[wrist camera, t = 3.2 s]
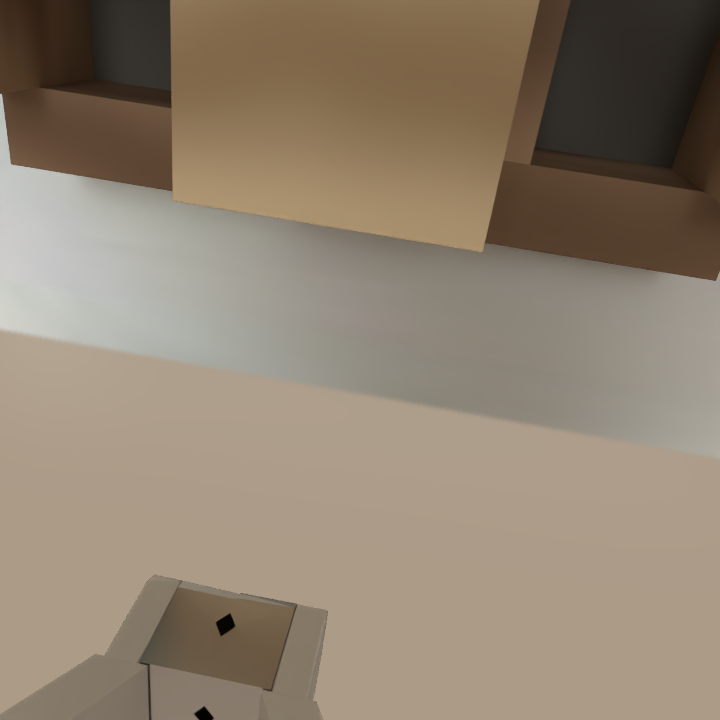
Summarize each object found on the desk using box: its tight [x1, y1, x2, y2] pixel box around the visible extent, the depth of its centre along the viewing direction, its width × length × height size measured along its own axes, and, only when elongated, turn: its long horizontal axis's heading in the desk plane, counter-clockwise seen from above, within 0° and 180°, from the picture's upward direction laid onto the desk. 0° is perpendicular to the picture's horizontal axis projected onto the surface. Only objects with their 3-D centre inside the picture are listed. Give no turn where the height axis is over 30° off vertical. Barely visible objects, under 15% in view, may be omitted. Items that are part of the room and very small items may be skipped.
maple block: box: [170, 0, 540, 252], centre depth 13 cm, size 6×6×4 cm
